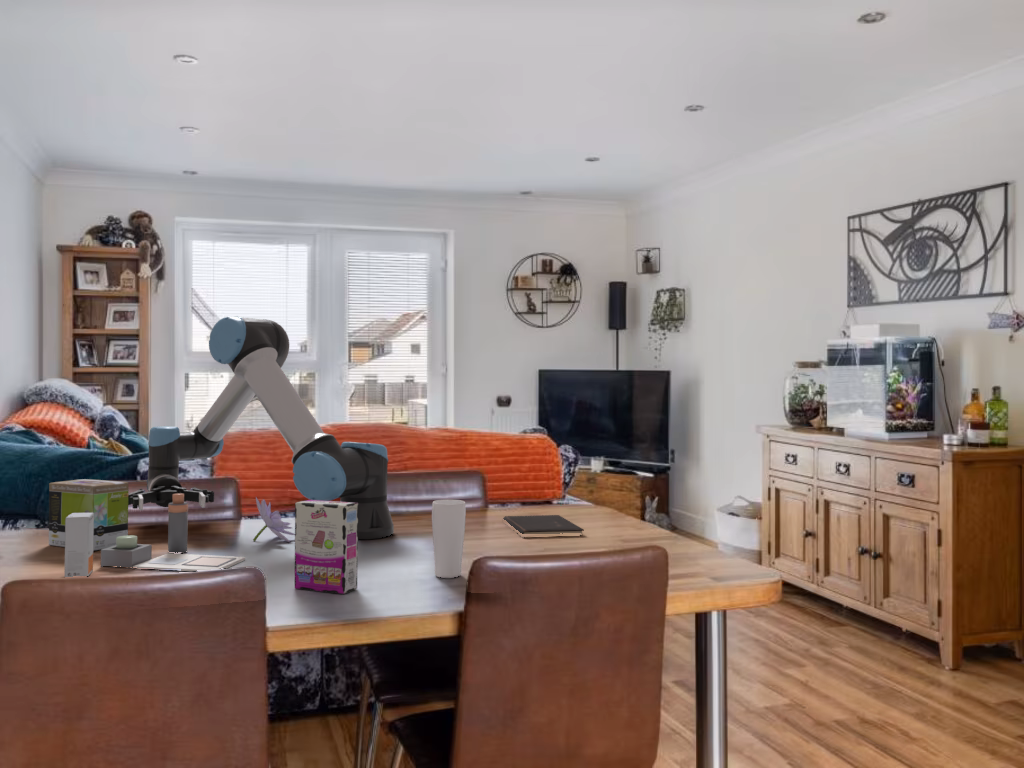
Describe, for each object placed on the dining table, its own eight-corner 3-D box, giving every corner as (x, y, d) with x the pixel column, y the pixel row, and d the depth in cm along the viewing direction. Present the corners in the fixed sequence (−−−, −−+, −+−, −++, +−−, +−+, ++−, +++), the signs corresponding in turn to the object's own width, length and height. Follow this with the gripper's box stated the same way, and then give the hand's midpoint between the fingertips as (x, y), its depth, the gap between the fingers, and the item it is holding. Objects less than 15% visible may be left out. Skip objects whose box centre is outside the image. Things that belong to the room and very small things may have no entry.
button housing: (151, 561, 183) (151, 544, 183) (132, 568, 176) (132, 551, 176) (121, 559, 184) (121, 543, 184) (100, 566, 177) (100, 549, 177)
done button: (141, 545, 182) (141, 535, 182) (129, 549, 178) (129, 539, 178) (123, 544, 182) (123, 535, 182) (112, 548, 179) (112, 538, 179)
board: (245, 559, 186) (245, 556, 186) (215, 573, 173) (215, 569, 173) (167, 555, 188) (167, 552, 188) (132, 569, 176) (132, 565, 176)
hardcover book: (558, 523, 241) (558, 514, 241) (583, 538, 219) (583, 529, 219) (502, 524, 237) (503, 516, 237) (522, 540, 215) (522, 531, 215)
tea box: (129, 544, 201) (130, 481, 200) (92, 552, 191) (93, 485, 191) (84, 538, 207) (85, 477, 207) (46, 545, 198) (47, 481, 198)
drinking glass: (431, 572, 177) (432, 499, 177) (464, 572, 177) (465, 499, 177) (430, 580, 170) (431, 504, 170) (465, 579, 171) (466, 504, 170)
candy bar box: (358, 589, 162) (359, 502, 162) (344, 595, 158) (345, 505, 157) (308, 583, 166) (309, 498, 166) (292, 589, 162) (293, 501, 161)
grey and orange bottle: (191, 550, 194) (191, 493, 194) (181, 554, 190) (181, 495, 190) (174, 550, 195) (174, 492, 195) (164, 553, 191) (164, 495, 191)
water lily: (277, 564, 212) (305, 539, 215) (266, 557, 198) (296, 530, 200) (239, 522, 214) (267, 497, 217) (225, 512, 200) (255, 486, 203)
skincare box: (88, 578, 168) (88, 516, 167) (63, 579, 166) (64, 517, 166) (93, 571, 173) (94, 511, 173) (70, 572, 172) (71, 512, 172)
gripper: (216, 503, 226) (228, 516, 207) (111, 507, 215) (113, 522, 196) (217, 474, 226) (228, 485, 207) (112, 477, 215) (114, 489, 196)
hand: (173, 503), depth 201 cm, fingers open, 13 cm apart
